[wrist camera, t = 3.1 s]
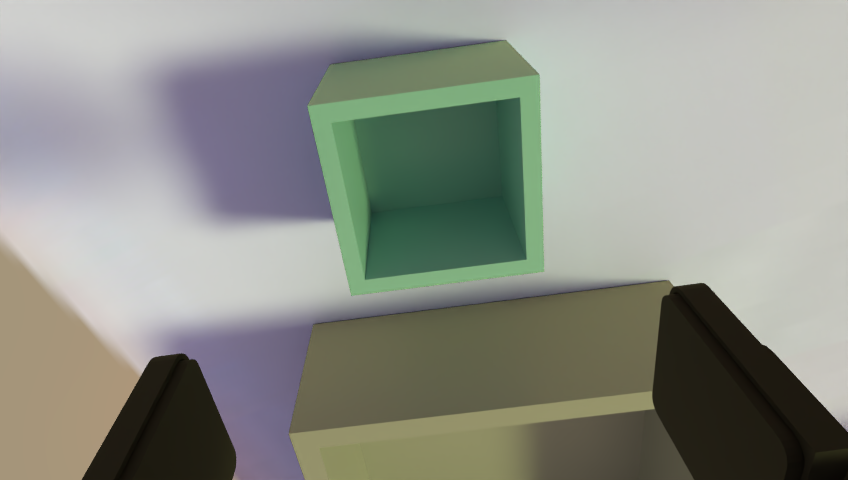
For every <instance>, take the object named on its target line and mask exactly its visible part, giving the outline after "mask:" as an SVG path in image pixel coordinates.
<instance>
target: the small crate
mask: <svg viewBox="0 0 848 480" xmlns="http://www.w3.org/2000/svg"><path fill="white" fill-rule="evenodd" d="M307 107H308V111H309V116H310V120H311V124H312V129H313V133H314V137H315V142H316V146H317V150H318V154H319V159H320V163H321V167H322V172H323V176H324V180H325V185H326V189H327V193H328V197H329V202H330V206H331V210H332V215H333V219H334V223H335V227H336V232H337V236H338V240H339V245H340V249H341V253H342V258H343V262H344V266H345V270H346V275H347V279H348V283H349V288H350V292H351V296H353V295H361V294H369V293H377V292H385V291H393V290H401V289H409V288H417V287H425V286H433V285H441V284H449V283H457V282H465V281H473V280H481V279H489V278H497V277H505V276H513V275H521V274H529V273H537V272H544V252H543V207H542V163H541V118H540V75H539V74H538V72H537V71H536V70H535V69H534V68H533V67H532V66H531V65H530V64H529V63H528V62H527V61H526V60H525V59H524V58H523V57H522V56H521V55H520V54H519V53H518V52H517V51H516V50H515V49H514V48H513V47H512V46H511V45H510V44H509V43H508V42H507V41H506V40H504V41H497V42H489V43H482V44H475V45H468V46H460V47H453V48H446V49H439V50H432V51H424V52H417V53H410V54H403V55H395V56H388V57H381V58H374V59H366V60H359V61H352V62H345V63H337V64H330V65H329V67H328V69H327V71H326V73H325V75H324V76H323V78H322V80H321V82H320V84H319V86H318V87H317V89H316V91H315V93H314V95H313V97H312V98H311V100H310V102H309V104H308V106H307Z"/></svg>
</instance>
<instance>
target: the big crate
mask: <svg viewBox="0 0 848 480" xmlns="http://www.w3.org/2000/svg"><path fill="white" fill-rule="evenodd" d="M673 287H674V286H673V285H672V284H671V282H670V281H662V282H653V283H645V284H637V285H629V286H621V287H613V288H605V289H597V290H589V291H580V292H572V293H564V294H556V295H548V296H540V297H532V298H524V299H516V300H508V301H499V302H491V303H483V304H475V305H467V306H459V307H451V308H443V309H435V310H426V311H418V312H410V313H402V314H394V315H386V316H378V317H370V318H362V319H354V320H345V321H337V322H329V323H321V324H313V328H312V333H311V337H310V342H309V346H308V350H307V355H306V359H305V364H304V368H303V373H302V377H301V381H300V386H299V390H298V395H297V399H296V404H295V408H294V412H293V417H292V421H291V426H290V430H289V436H290V439H291V442H292V445H293V448H294V450H295V453H296V456H297V459H298V462H299V464H300V467H301V470H302V473H303V476H304V479H305V480H694V479H693V477H692V475H691V473H690V472H689V470H688V468H687V466H686V465H685V463H684V461H683V459H682V457H681V456H680V454H679V452H678V450H677V449H676V447H675V445H674V443H673V441H672V440H671V438H670V436H669V434H668V433H667V431H666V429H665V427H664V425H663V424H662V422H661V420H660V418H659V417H658V415H657V413H656V411H655V408H654V405H653V400H652V390H653V380H654V371H655V361H656V351H657V341H658V331H659V321H660V311H661V302H662V298H663V296H665V295H669V294H670V291H671V289H672V288H673Z"/></svg>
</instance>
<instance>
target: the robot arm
mask: <svg viewBox="0 0 848 480" xmlns="http://www.w3.org/2000/svg"><path fill="white" fill-rule="evenodd" d="M652 400H653V405H654V408H655V411H656V413H657V415H658V417H659V418H660V420H661V422H662V424H663V425H664V427H665V429H666V431H667V433H668V434H669V436H670V438H671V440H672V441H673V443H674V445H675V447H676V449H677V450H678V452H679V454H680V456H681V457H682V459H683V461H684V463H685V465H686V466H687V468H688V470H689V472H690V473H691V475H692V477H693V479H694V480H848V432H847V431H846V430H845V429H844V428H843V427H842V425H841V424H840V423H839V422H838V421H837V420H836V419H835V418H834V417H833V416H832V415H831V414H830V413H829V411H828V410H827V409H826V408H825V407H824V406H823V405H822V404H821V403H820V402H819V401H818V400H817V399H816V398H815V396H814V395H813V394H812V393H811V392H810V391H809V390H808V389H807V388H806V387H805V386H804V385H803V384H802V382H801V381H800V380H799V379H798V378H797V377H796V376H795V375H794V374H793V373H792V372H791V371H790V370H789V369H788V367H787V366H786V365H785V364H784V363H783V362H782V361H781V360H780V359H779V358H778V357H777V356H776V355H775V353H774V352H773V351H771V350H770V349H769V348H768V347H767V346H765V345H762V344H761V343H760V342H759V341H758V340H757V339H756V338H755V337H754V336H753V335H752V333H751V332H750V331H749V330H748V329H747V328H746V327H745V326H744V325H743V324H742V323H741V321H740V320H739V319H738V318H737V317H736V316H735V315H734V314H733V313H732V312H731V311H730V310H729V308H728V307H727V306H726V305H725V304H724V303H723V302H722V301H721V300H720V299H719V298H718V296H717V295H716V294H715V293H714V292H713V291H712V290H711V289H710V288H709V287H708V286H707V285H706V284H704V283H698V284H690V285H683V286H676V287H673V288H672V289H671V291H670V294H669V295H665V296H663V298H662V302H661V311H660V321H659V331H658V341H657V351H656V361H655V371H654V380H653V390H652ZM235 468H236V453H235V449H234V447H233V445H232V442H231V440H230V437H229V435H228V433H227V430H226V428H225V426H224V423H223V421H222V419H221V416H220V414H219V412H218V409H217V407H216V405H215V402H214V400H213V398H212V395H211V393H210V390H209V388H208V386H207V383H206V381H205V379H204V376H203V374H202V372H201V369H200V367H199V365H198V363H197V361H196V360H194V359H191V360H189V358H188V357H187V356H186V355H185V354H182V353H181V354H174V355H166V356H159V357H154V358H152V359H151V360H150V362H149V363H148V365H147V366H146V368H145V370H144V372H143V373H142V375H141V377H140V379H139V381H138V382H137V384H136V386H135V387H134V389H133V391H132V393H131V394H130V396H129V398H128V400H127V402H126V403H125V405H124V407H123V408H122V410H121V412H120V414H119V416H118V417H117V419H116V421H115V422H114V424H113V426H112V428H111V429H110V431H109V433H108V435H107V436H106V438H105V440H104V442H103V443H102V445H101V447H100V449H99V450H98V452H97V454H96V456H95V457H94V459H93V461H92V463H91V465H90V466H89V468H88V470H87V471H86V473H85V475H84V477H83V478H82V480H232V479H233V475H234V472H235Z"/></svg>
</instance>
